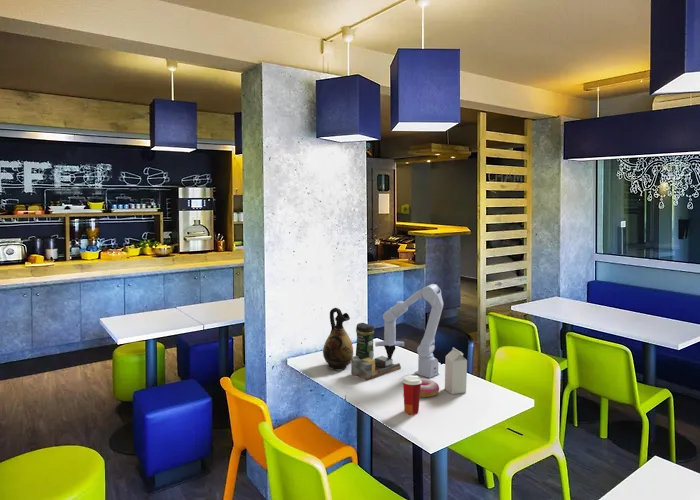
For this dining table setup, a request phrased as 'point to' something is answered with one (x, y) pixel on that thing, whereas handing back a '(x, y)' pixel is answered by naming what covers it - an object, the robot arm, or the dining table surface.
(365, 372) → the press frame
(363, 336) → the coffee jar
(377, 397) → the dining table surface
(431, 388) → the donut
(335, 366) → the ceramic jug
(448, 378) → the milk carton
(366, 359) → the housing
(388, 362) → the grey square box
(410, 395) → the paper cup
